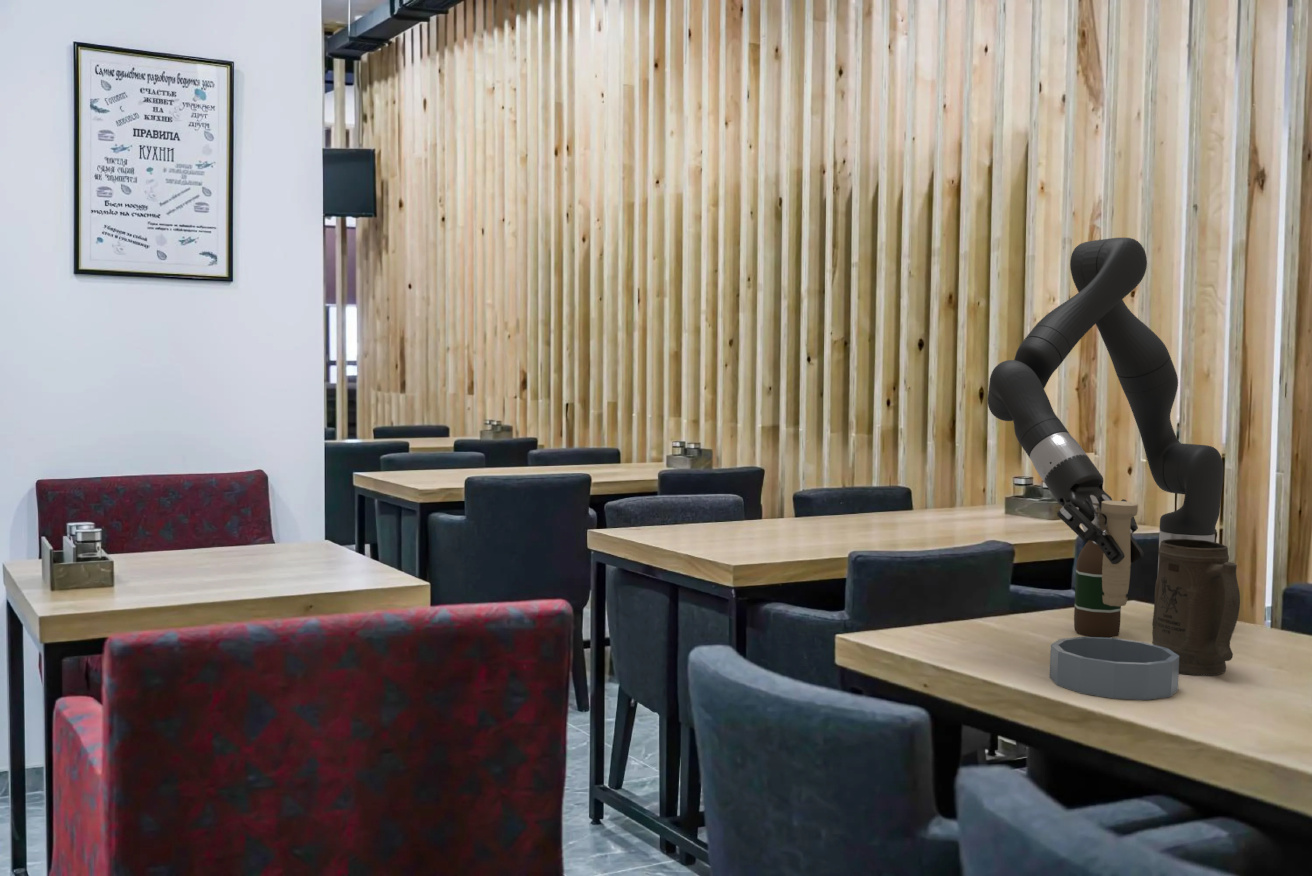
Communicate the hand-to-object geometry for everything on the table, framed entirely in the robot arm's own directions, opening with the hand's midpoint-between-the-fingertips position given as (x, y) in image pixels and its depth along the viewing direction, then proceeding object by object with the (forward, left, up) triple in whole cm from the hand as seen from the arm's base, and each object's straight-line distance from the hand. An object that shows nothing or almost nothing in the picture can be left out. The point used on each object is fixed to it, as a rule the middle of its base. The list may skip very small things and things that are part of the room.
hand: (1128, 559), depth 172 cm
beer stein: (-19, -3, -19) cm, 27 cm away
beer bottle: (-24, -29, -19) cm, 42 cm away
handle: (0, -2, -7) cm, 7 cm away
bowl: (0, -2, -19) cm, 19 cm away
